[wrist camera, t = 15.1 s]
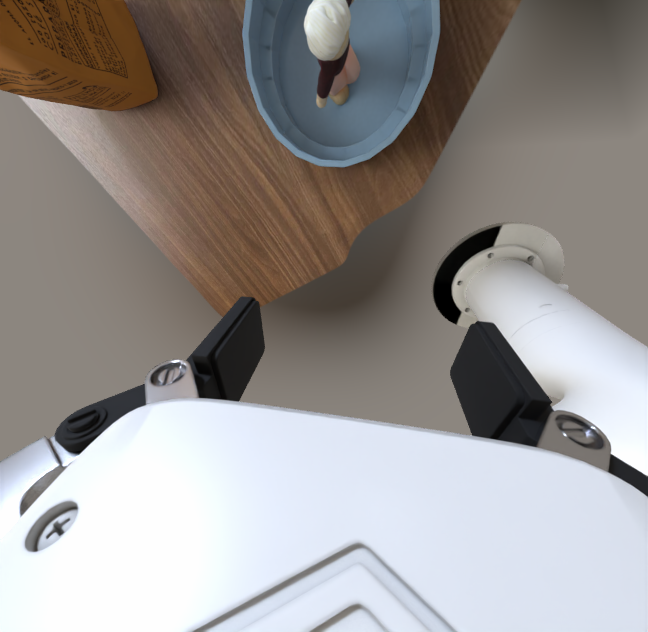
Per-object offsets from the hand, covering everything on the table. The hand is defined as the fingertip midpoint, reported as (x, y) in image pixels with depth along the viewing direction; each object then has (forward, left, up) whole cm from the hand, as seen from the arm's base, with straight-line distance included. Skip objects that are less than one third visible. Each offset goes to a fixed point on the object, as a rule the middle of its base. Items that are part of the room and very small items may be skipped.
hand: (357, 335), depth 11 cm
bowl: (+4, -14, -28) cm, 32 cm away
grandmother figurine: (+4, -14, -28) cm, 31 cm away
